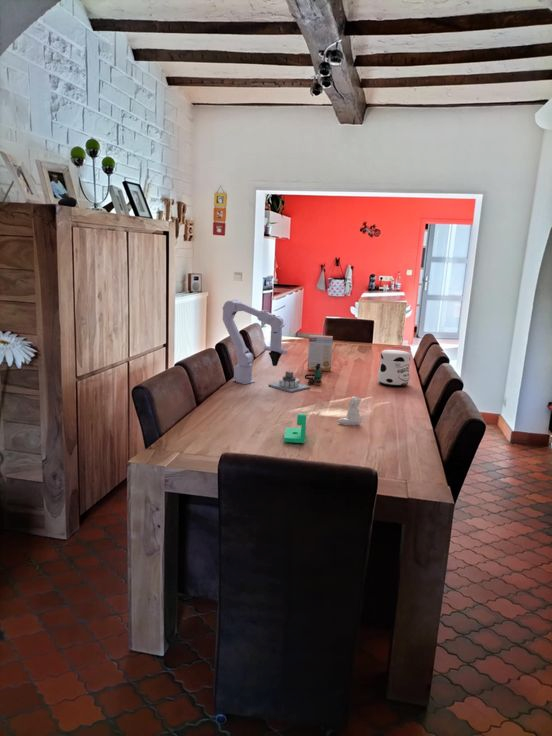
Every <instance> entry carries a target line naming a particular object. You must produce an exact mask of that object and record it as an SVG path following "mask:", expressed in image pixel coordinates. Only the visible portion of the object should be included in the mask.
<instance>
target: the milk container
mask: <svg viewBox="0 0 552 736" xmlns="http://www.w3.org/2000/svg"><path fill="white" fill-rule="evenodd" d="M410 360H411V353H410V352H409V351H405V350H400V349H383V350H381V353H380V364H379V369H378V371H377V380H378V382H379V383H381V384H383V385H386V386H390V387H405V386H406V385H409V382H410V379H411V375H410V364H411V361H410Z"/></svg>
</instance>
